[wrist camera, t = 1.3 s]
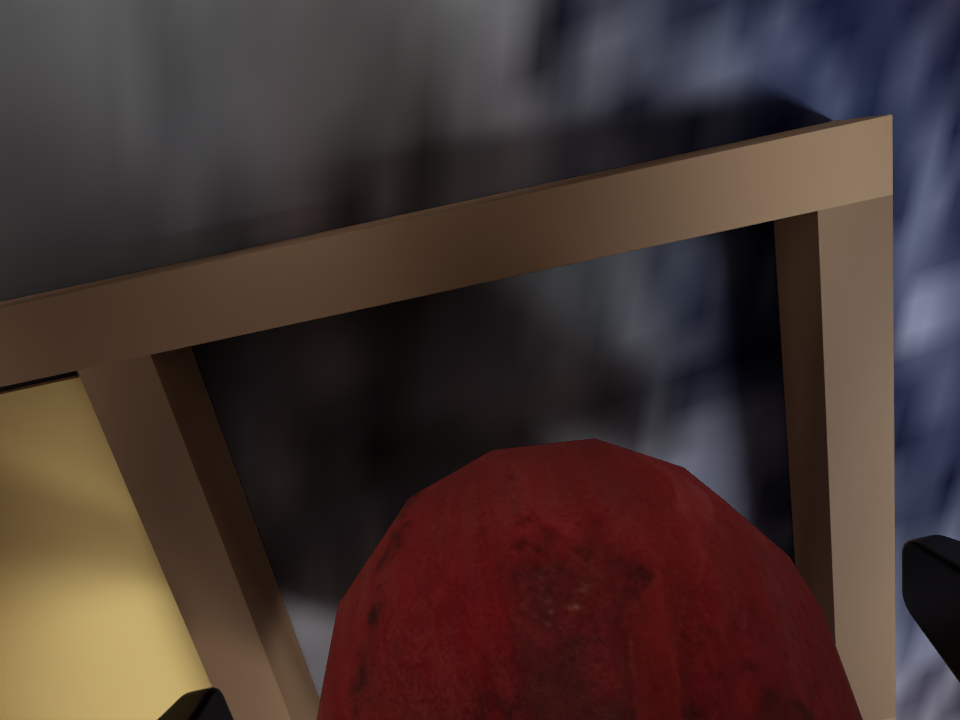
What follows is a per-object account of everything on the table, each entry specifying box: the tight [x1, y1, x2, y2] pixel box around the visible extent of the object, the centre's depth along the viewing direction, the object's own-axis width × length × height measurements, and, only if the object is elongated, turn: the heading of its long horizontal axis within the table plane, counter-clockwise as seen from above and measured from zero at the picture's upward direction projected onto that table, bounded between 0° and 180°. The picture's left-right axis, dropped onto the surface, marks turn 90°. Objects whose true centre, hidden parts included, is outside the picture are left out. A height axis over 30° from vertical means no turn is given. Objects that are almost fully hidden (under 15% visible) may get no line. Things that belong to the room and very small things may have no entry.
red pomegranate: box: [317, 438, 863, 720], centre depth 7 cm, size 6×6×8 cm
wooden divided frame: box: [0, 115, 896, 720], centre depth 10 cm, size 21×11×1 cm, turn 102°
